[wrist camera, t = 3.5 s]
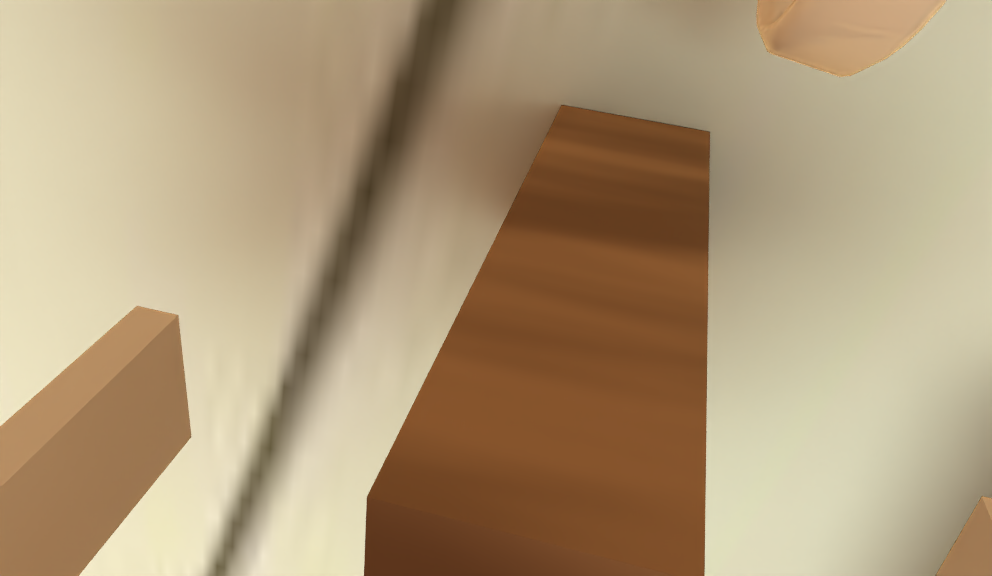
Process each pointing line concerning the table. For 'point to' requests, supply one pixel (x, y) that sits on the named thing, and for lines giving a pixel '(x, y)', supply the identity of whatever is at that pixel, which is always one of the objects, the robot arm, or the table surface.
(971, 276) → the table surface
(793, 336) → the table surface
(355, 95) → the table surface
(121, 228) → the table surface
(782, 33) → the mug
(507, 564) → the walnut block
